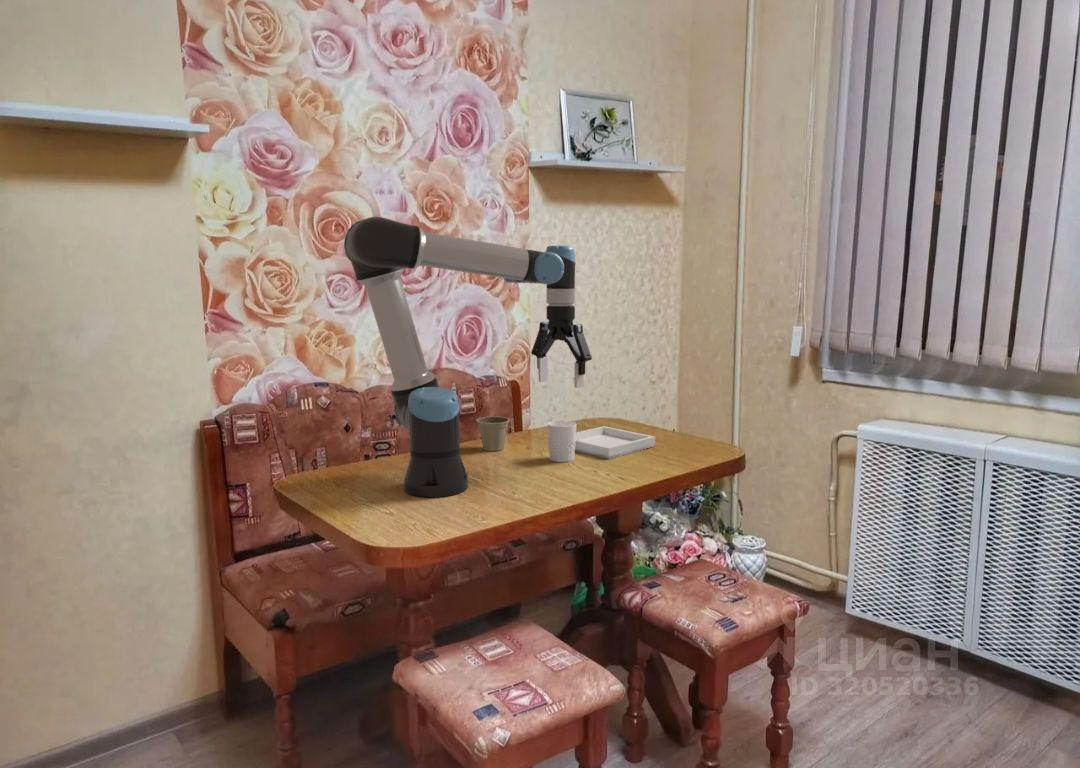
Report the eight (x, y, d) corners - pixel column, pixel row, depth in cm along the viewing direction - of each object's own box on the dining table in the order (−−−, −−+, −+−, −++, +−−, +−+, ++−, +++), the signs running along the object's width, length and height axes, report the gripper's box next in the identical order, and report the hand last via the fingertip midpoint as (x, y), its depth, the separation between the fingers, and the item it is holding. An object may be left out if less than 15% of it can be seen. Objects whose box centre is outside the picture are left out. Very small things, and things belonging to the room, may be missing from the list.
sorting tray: (608, 459, 202) (608, 448, 202) (557, 446, 217) (557, 436, 217) (655, 446, 216) (655, 436, 215) (604, 435, 230) (604, 426, 230)
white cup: (561, 464, 198) (561, 427, 196) (541, 459, 203) (541, 423, 202) (582, 459, 203) (582, 423, 201) (562, 454, 208) (562, 419, 207)
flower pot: (509, 453, 210) (508, 423, 209) (475, 453, 210) (475, 423, 209) (511, 445, 219) (510, 416, 218) (479, 445, 220) (478, 416, 218)
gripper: (605, 306, 191) (604, 387, 194) (538, 302, 208) (538, 377, 212) (585, 307, 185) (585, 391, 189) (518, 303, 203) (519, 380, 207)
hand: (560, 384), depth 200 cm, fingers open, 13 cm apart
